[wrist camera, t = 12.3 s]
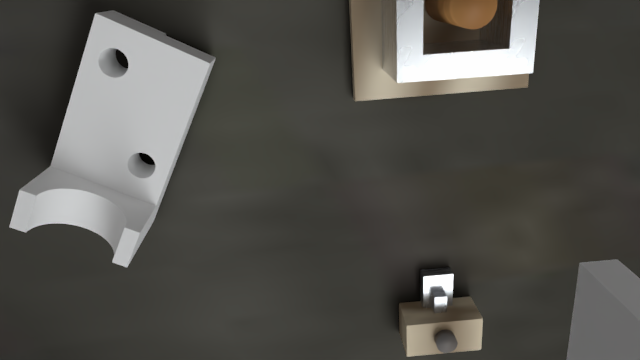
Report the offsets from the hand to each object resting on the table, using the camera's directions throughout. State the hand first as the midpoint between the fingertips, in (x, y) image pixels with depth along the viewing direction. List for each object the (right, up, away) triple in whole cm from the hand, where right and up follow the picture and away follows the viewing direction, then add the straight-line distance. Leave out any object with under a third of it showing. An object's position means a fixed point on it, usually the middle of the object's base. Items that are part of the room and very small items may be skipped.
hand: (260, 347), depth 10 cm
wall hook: (+11, -5, +31) cm, 34 cm away
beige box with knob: (+11, -8, +32) cm, 35 cm away
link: (+9, +15, +22) cm, 28 cm away
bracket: (-12, +8, +26) cm, 29 cm away
